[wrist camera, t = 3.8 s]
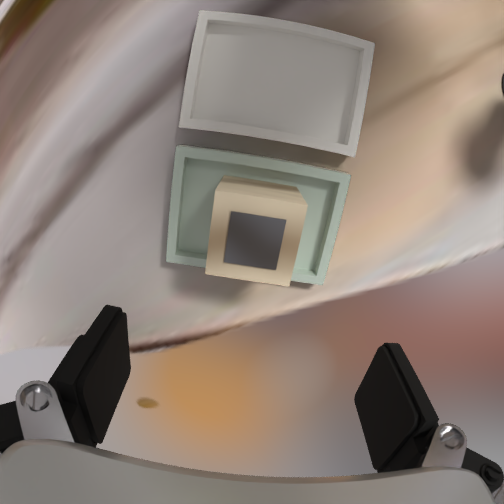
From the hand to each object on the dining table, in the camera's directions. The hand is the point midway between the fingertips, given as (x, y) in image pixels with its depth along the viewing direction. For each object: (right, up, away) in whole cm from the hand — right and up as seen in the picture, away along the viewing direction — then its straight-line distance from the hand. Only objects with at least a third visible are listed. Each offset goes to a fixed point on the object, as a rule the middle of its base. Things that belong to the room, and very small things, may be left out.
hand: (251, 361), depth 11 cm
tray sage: (0, +7, +16) cm, 18 cm away
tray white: (+2, +18, +12) cm, 21 cm away
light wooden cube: (0, +7, +16) cm, 18 cm away
